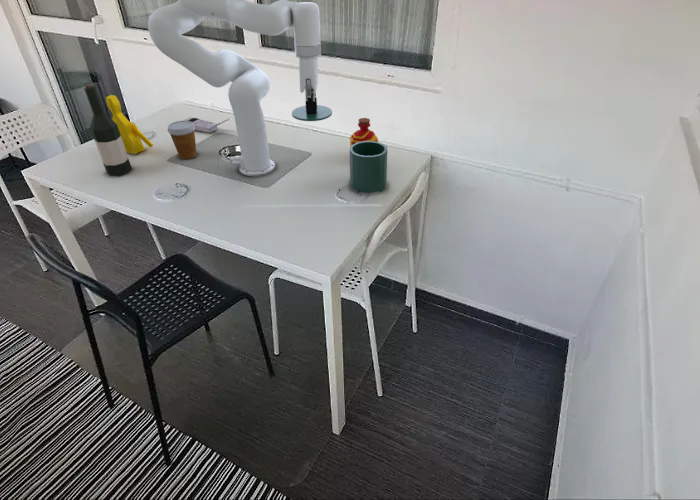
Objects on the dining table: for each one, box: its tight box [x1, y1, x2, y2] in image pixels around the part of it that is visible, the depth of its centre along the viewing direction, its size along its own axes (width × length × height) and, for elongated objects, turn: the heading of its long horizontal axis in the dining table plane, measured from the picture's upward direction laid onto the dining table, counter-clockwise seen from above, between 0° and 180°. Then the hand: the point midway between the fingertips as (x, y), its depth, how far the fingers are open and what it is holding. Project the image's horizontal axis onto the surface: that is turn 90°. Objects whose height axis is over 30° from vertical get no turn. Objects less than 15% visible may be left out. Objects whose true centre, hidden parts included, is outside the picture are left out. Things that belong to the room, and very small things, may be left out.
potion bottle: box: [349, 117, 379, 147], centre depth 160 cm, size 10×10×15 cm
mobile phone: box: [182, 117, 230, 134], centre depth 188 cm, size 6×6×25 cm
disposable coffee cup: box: [167, 120, 198, 160], centre depth 166 cm, size 10×10×12 cm
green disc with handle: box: [291, 94, 333, 122], centre depth 143 cm, size 13×13×7 cm
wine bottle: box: [83, 83, 133, 177], centre depth 152 cm, size 8×8×30 cm
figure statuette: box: [105, 94, 154, 155], centre depth 167 cm, size 18×8×22 cm, turn 66°
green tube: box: [349, 141, 388, 194], centre depth 146 cm, size 12×12×13 cm
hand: (311, 111), depth 144 cm, fingers closed on green disc with handle, 2 cm apart
